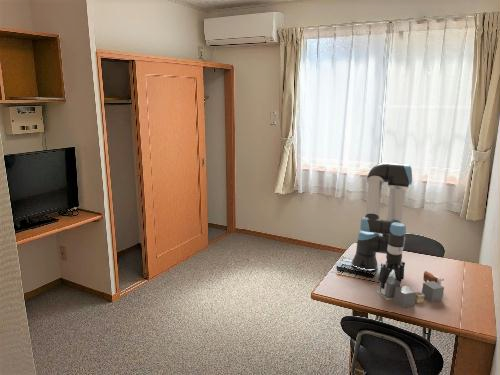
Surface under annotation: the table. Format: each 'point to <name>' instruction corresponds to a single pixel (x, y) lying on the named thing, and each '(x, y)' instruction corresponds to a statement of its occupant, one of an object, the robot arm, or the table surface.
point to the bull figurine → (431, 278)
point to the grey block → (404, 296)
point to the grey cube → (432, 291)
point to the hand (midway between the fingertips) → (389, 292)
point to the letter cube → (419, 297)
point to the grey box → (391, 286)
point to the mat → (385, 296)
